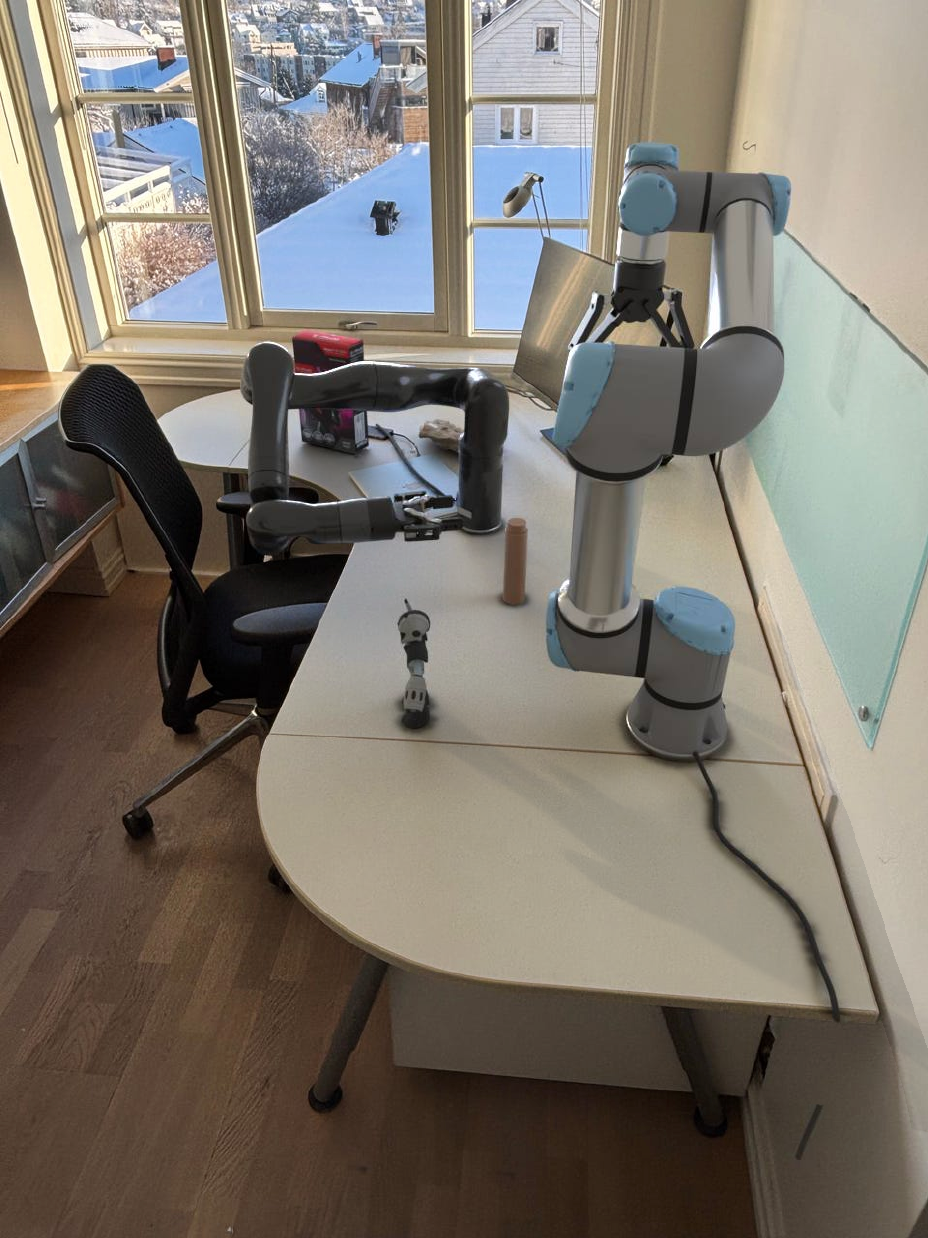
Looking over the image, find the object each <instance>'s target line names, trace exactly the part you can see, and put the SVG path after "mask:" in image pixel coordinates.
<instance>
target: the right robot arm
mask: <svg viewBox="0 0 928 1238" xmlns="http://www.w3.org/2000/svg"><path fill="white" fill-rule="evenodd" d="M679 160H680V150H679V147H678V146H677V145H675V144H673V143H667V142H653V141H648V142H643V141H641V142H635V143H631V144H630V145H629V146H628V148H626V154H625V162H624V164H623V180H622V181H623V182H622V186H621V189H620V191H619V195H618V202H617V203H618V205H617V209H618V212H619V213H618V214H619V216H620V217H619V218H620V219H619V226H618V236H617V245H616V255H617V256H618V258H617V259H616V260H615V265H614V266H615V267H614V274H613V275H614V276H613V287H612V290H611V292H610V293H601V292H600V291H598V290H595V291H593V293H592V294H591V300H590V304H589V307H588V309H587V311H586V312H585V315H584V317H583V318H582V321H581V322H580V324H579V326H578V328H577V330H576V331H575V333H574V335H573V337H572V339H571V340H570V342H569V344H568V346H567V350H568V352H569V354H568V357H567V362H566V365H565V371H564V376H563V381H562V385H561V391H560V397H559V401H558V406H557V412H556V416H555V422H554V426H553V432H552V438H551V441H552V443H553V444H554V445H556V446H559V447H560V448H564V454H565V458H566V461H567V463H568V464H569V465H570V467H571V468H572V469H573V470H574V471H575V484H574V500H573V501H574V502H573V517H572V532H571V533H572V534H571V548H570V549H571V550H570V564H569V565H570V566H569V577H568V578H567V579H566V580H565V581H564V582H563V583H562V585H561V586H560V589H555V590H553V591H551V593H550V595H549V598H548V601H547V606H546V615H545V629H546V630H545V632H546V633H545V644H546V651H547V656H548V659H549V661H550V663H551V664H552V665H553V666H555V667H557V668H560V669H566V670H570V671H573V672H577V673H578V672H583V673H593V674H602V675H612V676H620V677H629V678H638V679H643V682H642V684H641V685H640V688H639V689H638V691H637V692H636V694H635V695H634V697H633V699H632V701H631V702H630V704H629V706H628V708H627V711H626V719H625V728H626V732H627V734H628V736H629V738H630V739H631V741H632V742H634V744H636V745H637V746H638V747H639V748H640V749H641V750H643V751H645V752H646V753H648V754H650V755H651V756H654V757H656V758H659V759H662V760H666V761H670V762H675V763H694V762H696V763H697V766H698V768H699V770H700V773H701V775H702V777H703V779H704V781H705V783H706V785H707V787H708V789H709V792H710V794H711V797H712V798H711V799H712V826H713V829H714V831H715V834H716V835H717V838H718V839H719V840H720V841H721V843H722V844H723V845H724V846H725V848H726V849H728V851H730V852H731V853H732V854H733V855H734V856H736V857H737V858H739V860H741V861H742V862H743V863H744V864H745V865H747V866H748V867H749V868H750V869H751V870H752V871H753V872H754V873H756V875H758V877H760V878H761V879H762V880H763V881H764V882H766V883H767V885H768V886H770V887H771V888H772V889H773V890H775V892H777V893H778V894H779V895H780V897H782V898H783V899H784V900H785V901H786V902H787V903H788V904H789V905H790V907H791V908H792V909H793V912H795V913H796V915H797V917H798V918H799V920H800V921H801V923H802V926H803V927H804V930H805V933H806V935H807V939H808V942H809V945H810V948H811V951H812V955H813V958H814V960H815V962H816V966H817V969H818V970H819V972H820V974H821V977H822V979H823V982H824V984H825V986H826V990H827V992H828V996H829V1000H830V1004H831V1005H830V1006H831V1011H832V1018H833V1020H834V1022H836V1023H840V1022H841V1013H840V1006H839V1001H838V997H837V993H836V989H835V987H834V984H833V981H832V979H831V977H830V975H829V972H828V971H827V968H826V966H825V963H824V962H823V959H822V956H821V954H820V951H819V948H818V943H817V940H816V938H815V934H814V932H813V929H812V926H811V925H810V923H809V921H808V918H807V916H806V914H805V913H804V911H803V910H802V908H801V907H800V906H799V905H798V904H797V902H796V901H795V900H794V899H793V897H792V896H790V894H789V893H788V892H787V891H786V890H785V889H783V888H782V886H781V885H779V884H778V883H777V882H776V881H774V880H773V879H772V878H771V877H770V876H769V875H768V874H767V873H766V872H765V871H763V870H762V869H761V868H760V867H759V866H758V865H757V864H756V863H755V862H753V861H752V860H751V859H750V858H749V857H747V856H746V855H745V854H744V853H743V852H741V851H740V850H739V849H737V848H736V847H735V846H734V845H733V844H732V843H731V842H730V841H729V840H728V839H727V838H726V836H725V835H724V833H723V831H722V830H721V828H720V823H719V812H720V805H719V804H720V803H719V798H718V797H719V796H718V793H717V790H716V788H715V787H714V784H713V782H712V779H711V778H710V776H709V773H708V771H707V769H706V767H705V765H704V763H703V760H706V759H709V758H711V757H714V755H716V754H718V752H720V751H721V750H722V748H723V747H724V744H725V743H726V740H727V739H726V738H727V733H728V721H727V716H726V712H725V710H726V709H727V708H726V704H725V703H724V701H723V692H724V686H725V682H726V678H727V677H726V676H727V672H728V668H729V663H730V658H731V654H732V651H733V649H734V646H735V631H736V620H735V617H734V614H733V612H732V610H731V609H730V607H729V606H728V605H727V604H726V603H724V602H723V601H722V600H720V599H719V598H718V597H717V596H715V595H713V594H711V593H709V592H707V591H704V590H702V589H698V588H695V587H690V586H689V587H688V586H677V585H676V586H671V587H669V588H668V587H667V588H664V589H662V590H661V591H659V592H658V593H657V595H656V597H655V598H654V599H651V598H650V599H649V598H641V597H640V594H639V591H638V589H637V588H636V586H635V585H634V584H633V578H634V571H635V563H636V558H637V556H636V555H637V550H638V543H639V542H638V541H639V536H640V535H639V534H640V528H641V520H642V513H643V507H644V506H643V505H644V498H645V491H646V485H647V477H648V476H650V475H652V473H654V472H655V471H656V470H657V469H658V468H659V466H660V465H661V463H662V461H663V458H664V455H668V456H680V457H681V456H682V457H703V456H709V455H713V454H716V453H719V452H721V451H724V450H726V449H729V448H730V447H733V446H734V445H735V444H737V443H739V442H741V441H742V440H743V439H744V438H746V437H747V436H749V434H751V432H752V431H754V430H755V428H757V427H758V426H759V425H760V424H761V422H762V421H763V420H764V419H765V418H766V416H767V415H768V414H769V412H770V410H771V409H772V407H773V406H774V404H775V402H776V400H777V398H778V396H779V393H780V390H781V388H782V385H783V382H784V375H785V351H784V346H783V344H782V342H781V341H780V339H779V337H777V335H776V334H775V281H774V280H775V278H774V277H775V275H774V271H775V269H774V265H775V264H774V237H777V236H779V235H781V234H782V233H783V232H784V230H785V227H786V224H787V220H788V216H789V212H790V205H791V194H792V183H791V180H790V179H789V177H787V176H786V175H780V174H772V173H766V172H763V171H761V172H756V173H755V172H754V173H752V172H751V173H749V172H725V171H724V172H722V171H721V172H719V171H695V170H679V169H680V167H679ZM671 233H694V234H695V233H696V234H709V235H710V234H712V238H711V254H710V255H711V256H710V257H711V258H710V273H709V274H710V276H709V297H708V317H707V332H706V333H707V337H706V339H705V340H704V341H703V343H702V344H701V346H700V348H695V346H696V345H695V341H694V338H693V336H692V333H691V329H690V326H689V323H688V321H687V317H686V314H685V312H684V309H683V293H682V292H681V290H679V289H677V288H675V287H671V288H670V289H669V290H666V291H663V290H664V289H663V287H664V283H665V276H666V268H667V263H666V261H665V260H664V259H666V258H667V257H668V252H669V244H670V234H671ZM663 302H665V304H666V305H668V307H669V311H670V313H671V316H672V319H673V322H674V325H675V327H676V332H677V334H678V337H679V339H680V341H678V339H677V337H676V336H675V334H674V333H673V332H672V331H671V329H670V328H669V326H668V325H667V323H666V322H665V320H664V318H663V317H662V315H661V314H660V312H659V311H658V309H659V308H660V307H661V305H662V304H663ZM608 304H611V306H612V308H611V309H610V311H609V312H608V313H607V314H606V317H605V319H604V320H603V321H602V322H601V323H600V325H599V326H598V327H597V328H596V329H595V330H594V331H593V329H594V328H595V326H596V324H597V322H598V321H599V318H600V317H601V315H602V313H603V310H604V309H606V308H607V306H608ZM649 320H650V321H651V322H652V324H653V325H654V327H655V329H657V331H658V333H659V334H660V335H661V337H662V338H663V339H664V341H665V342H666V344H667V345H668V346H657V345H656V346H655V345H641V344H623V343H615V342H614V341H613V340H608V341H606V340H607V339H608V337H610V335H611V334H612V333H613V332H614V331H615V330H616V328H619V326H621V324H623V322H625V323H627V324H633V323H636V322H637V323H647V322H648V321H649ZM591 333H592V334H591ZM823 1108H824V1105H821V1104H817V1103H816V1104H815V1106H814V1109H813V1111H812V1114H811V1116H810V1118H809V1121H808V1123H807V1125H806V1128H805V1130H804V1132H803V1135H802V1136H801V1140H800V1142H799V1145H798V1147H797V1150H796V1153H795V1155H794V1156H795V1159H796V1160H797V1161H801V1160H802V1159H803V1155H804V1153H805V1150H806V1147H807V1145H808V1142H809V1140H810V1138H811V1136H812V1134H813V1131H814V1129H815V1126H816V1124H817V1122H818V1120H819V1118H820V1115H821V1113H822V1111H823Z"/></svg>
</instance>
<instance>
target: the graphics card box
mask: <svg viewBox="0 0 928 1238" xmlns="http://www.w3.org/2000/svg"><path fill="white" fill-rule="evenodd" d="M291 343H292V352H293V360H294V364H295V373H296V374H319V373H324V372H327V371H331V370H333V369H336V368H339V367H343V366H346V365H349V364H353V363H357V362H365V349H364V348H365V347H364V340H363V338H355V337H350V336H344V335H338V334H334V333H327V332H322V331H318V330H317V331H316V330H311V329H304V330H301V331H299V332H297V333H295V335H293V336H292V337H291ZM298 415H299V424H300V436H301V442H302V443H306V444H310V445H314V446H318V447H324V448H327V449H332V450H336V451H339V452H344V453H349V454H353V455H355V454H358V453H359V452H361V451H363V450H365V449H366V448H367V447H369V446H370V440H369V423H368V421H369V420H368V411H361V410H345V409H321V408H312V409H298Z"/></svg>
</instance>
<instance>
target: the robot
mask: <svg viewBox="0 0 928 1238" xmlns="http://www.w3.org/2000/svg"><path fill="white" fill-rule="evenodd" d="M403 602H404V604H405V607H406V610H407V611H406V612H404V613H403V614H402V615H400V616H399V617H398V621H397V623H396V624H397V625H396V626H397V627H398V629H397V630H398V631H399V635H400V644H401V645H403V649H404V652H405V654H406V669H408V671H409V674H410V677H409V678H408V679H407V680H408V681H407V682H406V685H405V689H404V696H403V697H402V700H401V705H402V706H403V708H404V713H403V716H402V718H401V723H402V725H404V726H405V727H406V728H410V729H419V728H421V727H424V726H426V725H428V724H429V722H430V719H431V717H430V716H431V715H430V709H429V706H430V695H429V692H428V689H427V683H426V678H425V677H424V674H425V664H427V663H429V650H428V648H427V641H429V640H428V639H429V638H428V634H427V633H428V632H430V629H431V620H430V617H429V615H428V614H427V613H426V612H424V611H422V610H419V609H413V608H412V606H411V604H410V602H409V600H408V599H407V598H404V600H403Z"/></svg>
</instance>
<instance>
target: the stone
mask: <svg viewBox="0 0 928 1238" xmlns="http://www.w3.org/2000/svg"><path fill="white" fill-rule="evenodd" d="M418 429H419V432H418V437H419V439H430V440H431V441H432V443H433V444H436V445H438V446H439V447H440V449H443V450H446V451H448V450H451V451H453V452H456V453H458V454H459V437H460V436H461V435H462V434H463V433H464V428H462V427H459V426H456V425H455V424H454V423H451V422H450V421H449V420H443V419H437V418H436V419H433V420H426V421H424V423H423V424H421V425H420V426H419V428H418Z"/></svg>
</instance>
